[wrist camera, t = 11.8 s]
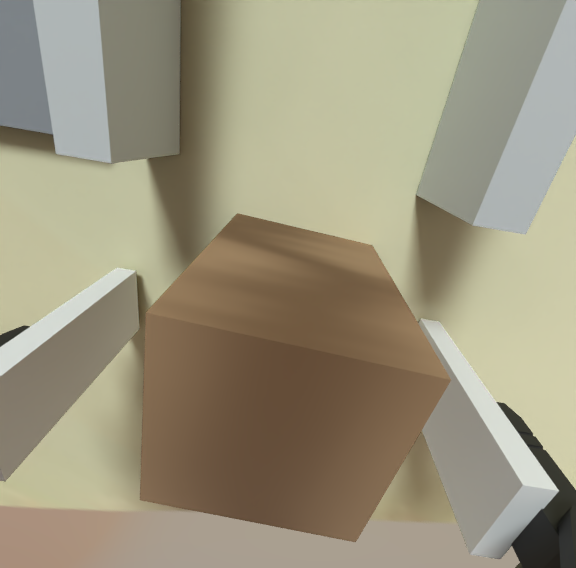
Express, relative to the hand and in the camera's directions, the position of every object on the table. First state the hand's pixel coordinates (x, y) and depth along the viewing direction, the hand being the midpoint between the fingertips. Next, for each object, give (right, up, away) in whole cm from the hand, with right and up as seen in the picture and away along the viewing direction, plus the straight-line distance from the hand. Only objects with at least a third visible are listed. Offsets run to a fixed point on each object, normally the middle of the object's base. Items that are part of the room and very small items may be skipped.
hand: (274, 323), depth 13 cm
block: (+1, +1, 0) cm, 2 cm away
